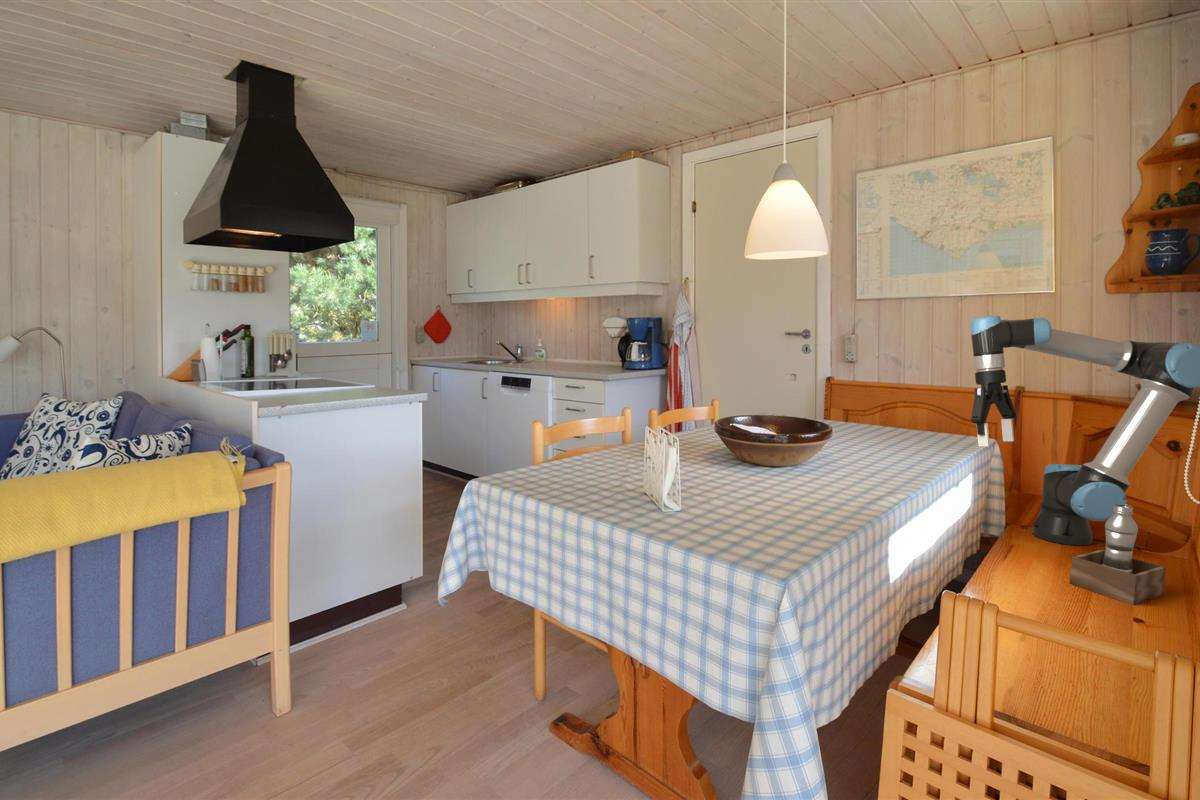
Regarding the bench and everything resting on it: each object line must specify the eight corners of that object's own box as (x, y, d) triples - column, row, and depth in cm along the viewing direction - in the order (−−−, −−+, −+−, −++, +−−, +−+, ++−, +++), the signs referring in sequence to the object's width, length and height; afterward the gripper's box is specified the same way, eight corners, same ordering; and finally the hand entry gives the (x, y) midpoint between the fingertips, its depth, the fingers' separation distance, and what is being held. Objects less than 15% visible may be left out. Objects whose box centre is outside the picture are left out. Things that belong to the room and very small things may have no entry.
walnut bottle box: (1099, 575, 167) (1102, 549, 167) (1162, 595, 155) (1166, 567, 155) (1069, 583, 162) (1072, 557, 161) (1133, 605, 149) (1136, 576, 149)
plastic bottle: (1097, 584, 159) (1105, 506, 156) (1100, 577, 164) (1108, 500, 161) (1131, 592, 154) (1139, 511, 152) (1133, 584, 159) (1141, 505, 157)
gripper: (998, 369, 194) (1004, 439, 194) (952, 373, 181) (959, 448, 180) (1025, 366, 187) (1032, 439, 187) (980, 370, 174) (987, 448, 174)
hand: (996, 443), depth 184 cm, fingers open, 13 cm apart
